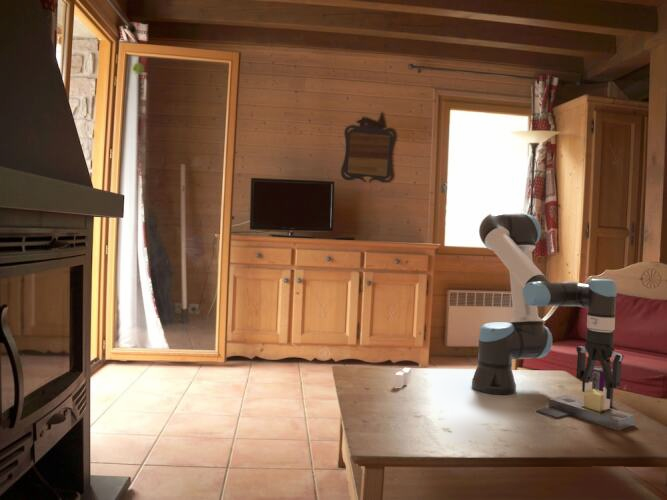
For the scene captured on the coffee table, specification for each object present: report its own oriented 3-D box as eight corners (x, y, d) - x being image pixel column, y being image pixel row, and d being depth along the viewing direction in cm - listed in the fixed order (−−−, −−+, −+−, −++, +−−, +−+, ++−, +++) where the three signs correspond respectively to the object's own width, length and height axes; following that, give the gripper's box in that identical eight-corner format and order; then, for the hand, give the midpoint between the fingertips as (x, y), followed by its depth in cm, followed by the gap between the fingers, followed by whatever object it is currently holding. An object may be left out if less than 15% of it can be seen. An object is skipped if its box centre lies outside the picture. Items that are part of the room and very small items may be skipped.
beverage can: (615, 409, 169) (617, 372, 168) (591, 406, 170) (593, 370, 170) (608, 402, 176) (610, 367, 175) (585, 400, 177) (587, 365, 177)
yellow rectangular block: (583, 417, 159) (584, 391, 159) (592, 414, 162) (593, 389, 162) (599, 422, 155) (600, 395, 155) (608, 419, 158) (609, 393, 158)
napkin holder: (406, 379, 197) (406, 364, 196) (427, 387, 187) (428, 371, 187) (374, 384, 188) (375, 368, 188) (395, 393, 179) (395, 376, 179)
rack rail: (548, 408, 167) (549, 398, 167) (565, 404, 172) (565, 394, 172) (617, 430, 149) (618, 419, 149) (634, 425, 154) (634, 414, 154)
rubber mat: (536, 411, 163) (536, 410, 163) (550, 408, 167) (550, 406, 167) (557, 418, 157) (557, 416, 157) (570, 415, 161) (570, 413, 161)
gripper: (565, 325, 163) (562, 399, 164) (624, 336, 148) (620, 417, 149) (579, 324, 168) (575, 396, 168) (637, 334, 153) (633, 413, 153)
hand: (596, 406), depth 159 cm, fingers closed on yellow rectangular block, 5 cm apart
